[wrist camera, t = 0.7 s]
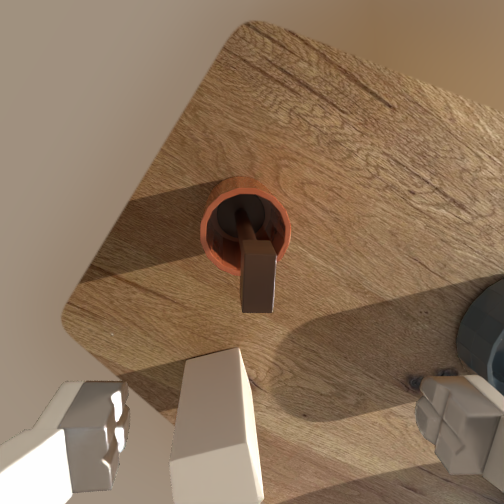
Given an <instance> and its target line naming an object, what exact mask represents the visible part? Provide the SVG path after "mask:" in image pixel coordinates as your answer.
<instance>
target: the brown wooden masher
mask: <svg viewBox="0 0 504 504" xmlns="http://www.w3.org/2000/svg"><path fill="white" fill-rule="evenodd" d="M264 219H265V209H264V206H263V204H262V202H261V200H260V199H259V198H258V196H257V195H256V194H238V195H235V196H233V197H230V198H227V199H225V200H223V201H222V202H221V203H220V204H219V205H218V207H217V220H218V223H219V226H220V227H221V229H222V230H223V231H224V232H225V233H226V234H228V235H229V236H232V237H235V238H239V244H240V250H241V269H240V299H241V308H242V313H272V312H273V304H274V290H275V275H276V261H277V254H276V252H275V250H274V248H273V246H272V244H271V242H270V241H267V240H257V239H256V236H255V233H257V232H258V231H259V230H260V228H261V227H262V225H263V223H264Z"/></svg>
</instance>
